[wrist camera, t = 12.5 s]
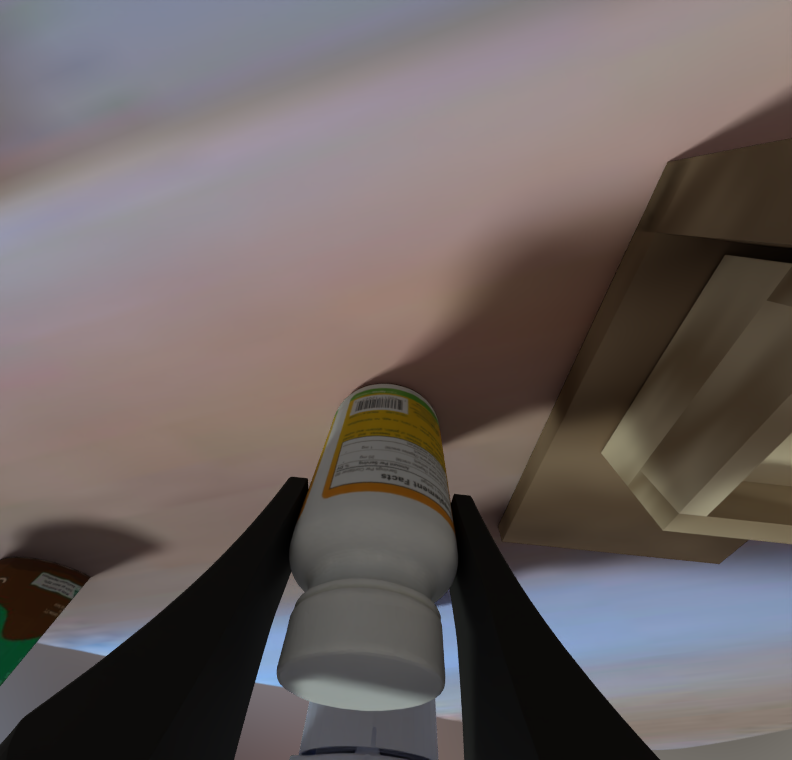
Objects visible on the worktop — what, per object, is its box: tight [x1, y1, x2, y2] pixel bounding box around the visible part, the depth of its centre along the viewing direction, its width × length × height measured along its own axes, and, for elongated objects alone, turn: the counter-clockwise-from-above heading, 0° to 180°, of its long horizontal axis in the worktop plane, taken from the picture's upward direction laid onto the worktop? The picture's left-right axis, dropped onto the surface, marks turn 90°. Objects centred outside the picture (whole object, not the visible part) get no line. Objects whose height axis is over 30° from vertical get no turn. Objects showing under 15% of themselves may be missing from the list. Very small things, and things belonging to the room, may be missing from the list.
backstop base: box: [498, 138, 792, 564], centre depth 12 cm, size 19×14×6 cm
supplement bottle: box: [277, 384, 458, 711], centre depth 11 cm, size 5×5×10 cm
